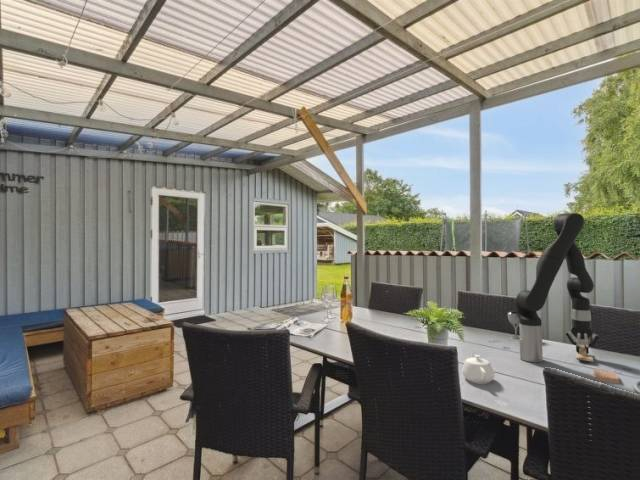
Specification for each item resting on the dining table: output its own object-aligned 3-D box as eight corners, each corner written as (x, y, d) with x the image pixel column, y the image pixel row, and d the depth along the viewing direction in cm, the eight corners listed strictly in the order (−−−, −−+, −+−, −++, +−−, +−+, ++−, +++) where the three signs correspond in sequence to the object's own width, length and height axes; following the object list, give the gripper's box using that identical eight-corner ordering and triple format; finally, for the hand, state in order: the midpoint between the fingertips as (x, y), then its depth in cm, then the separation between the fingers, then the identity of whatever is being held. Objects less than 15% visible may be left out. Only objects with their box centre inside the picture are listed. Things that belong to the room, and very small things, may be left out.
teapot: (457, 369, 152) (456, 347, 152) (486, 370, 150) (485, 348, 150) (468, 388, 132) (467, 363, 132) (502, 390, 130) (501, 364, 130)
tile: (593, 374, 143) (596, 381, 137) (593, 369, 143) (596, 375, 137) (614, 377, 140) (618, 384, 133) (614, 372, 140) (618, 379, 133)
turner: (576, 359, 156) (576, 351, 157) (573, 350, 170) (573, 343, 170) (593, 361, 153) (592, 353, 153) (588, 352, 167) (588, 345, 167)
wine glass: (525, 337, 198) (524, 311, 199) (522, 340, 193) (521, 314, 193) (510, 334, 204) (509, 310, 204) (506, 337, 198) (506, 312, 198)
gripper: (564, 318, 164) (565, 354, 164) (600, 321, 156) (602, 358, 156) (563, 315, 170) (564, 349, 170) (598, 318, 163) (599, 353, 162)
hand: (582, 353), depth 163 cm, fingers closed on turner, 2 cm apart
